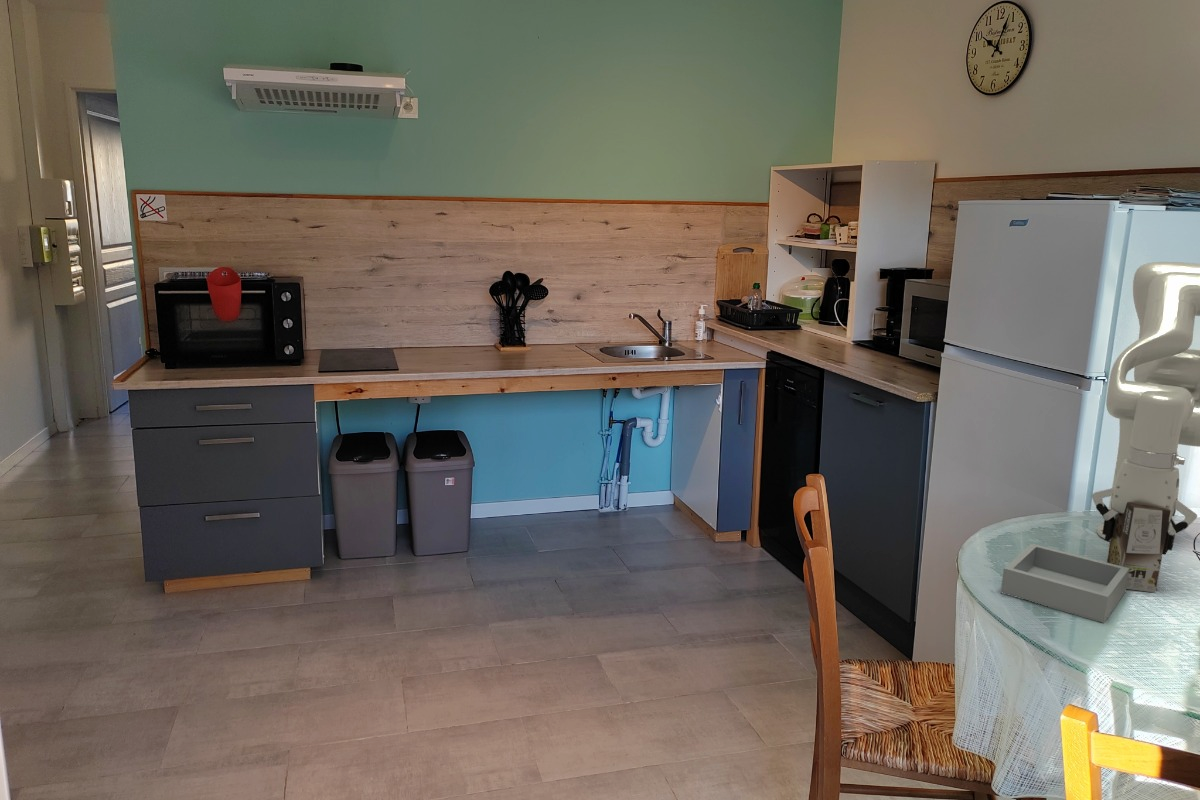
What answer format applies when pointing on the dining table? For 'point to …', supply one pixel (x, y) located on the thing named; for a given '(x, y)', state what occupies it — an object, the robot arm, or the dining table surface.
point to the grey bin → (1066, 582)
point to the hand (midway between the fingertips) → (1135, 545)
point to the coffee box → (1139, 544)
